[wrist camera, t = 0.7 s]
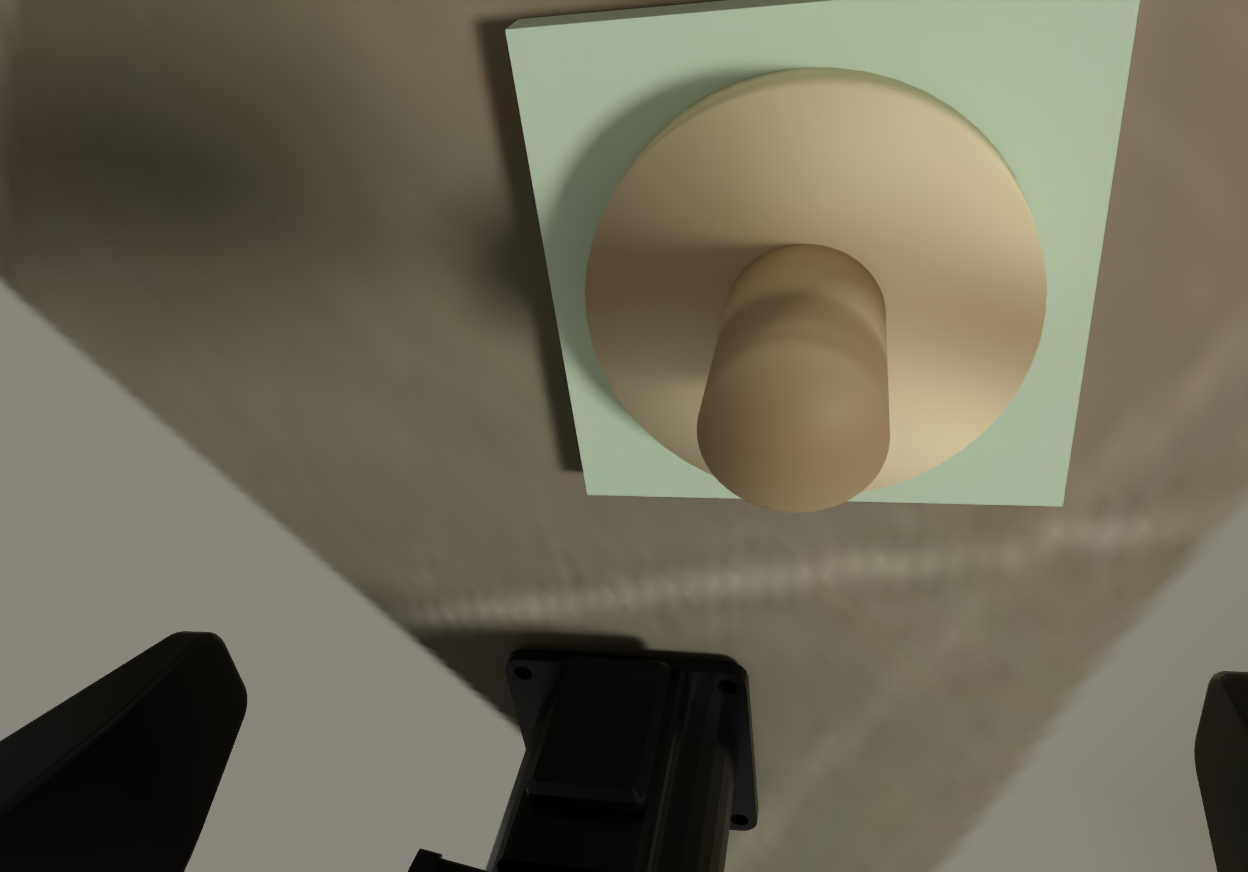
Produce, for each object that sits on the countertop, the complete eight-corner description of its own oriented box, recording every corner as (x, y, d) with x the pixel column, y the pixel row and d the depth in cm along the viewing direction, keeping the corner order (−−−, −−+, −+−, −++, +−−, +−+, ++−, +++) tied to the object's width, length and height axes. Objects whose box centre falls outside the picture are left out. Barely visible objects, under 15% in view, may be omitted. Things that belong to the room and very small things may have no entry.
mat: (1056, 482, 21) (1062, 506, 20) (594, 474, 23) (587, 495, 22) (1132, -37, 15) (1143, -28, 15) (518, 19, 18) (504, 30, 17)
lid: (1014, 465, 20) (1052, 648, 16) (624, 458, 22) (570, 621, 18) (1063, 48, 15) (1132, 154, 11) (570, 84, 17) (480, 187, 13)
